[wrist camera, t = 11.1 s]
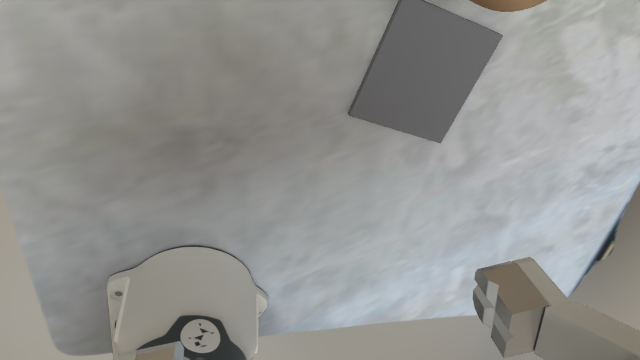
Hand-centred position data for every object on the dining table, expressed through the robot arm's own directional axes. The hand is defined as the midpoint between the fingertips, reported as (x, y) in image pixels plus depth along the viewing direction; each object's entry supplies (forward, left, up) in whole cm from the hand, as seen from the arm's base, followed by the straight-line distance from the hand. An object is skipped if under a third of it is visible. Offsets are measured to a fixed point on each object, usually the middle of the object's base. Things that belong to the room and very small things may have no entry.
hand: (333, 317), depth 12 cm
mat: (+1, -16, -31) cm, 35 cm away
